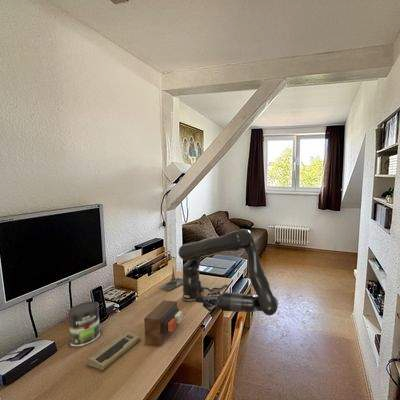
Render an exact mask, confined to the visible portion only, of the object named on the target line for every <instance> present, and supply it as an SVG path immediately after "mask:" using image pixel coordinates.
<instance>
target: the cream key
mask: <svg viewBox="0 0 400 400" xmlns="http://www.w3.org/2000/svg"><path fill="white" fill-rule="evenodd" d="M183 313H184V312H183V311H181V310H179V311H178V312H177V313H176V315H175V316H174V317H175V319H176V323H178V324H180V323H181V322H182V320H183V316H184V315H183Z"/></svg>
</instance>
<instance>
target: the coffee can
mask: <svg viewBox="0 0 400 400" xmlns="http://www.w3.org/2000/svg"><path fill="white" fill-rule="evenodd" d="M67 315H68V326H69V341H70V342H69V344H70V346H71V347H82V346H86V345H88V344H90V343H92V342H94V341H96V340H97V339H98V338H99V337H100V335H101V329H100V328H101V327H100V325H101V324H100V315H99V303H98V302H91V301H86V302H82V303H79V304H76V305H75V306H72V307H71V308H70V309H69V310H68V311H67Z"/></svg>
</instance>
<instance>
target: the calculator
mask: <svg viewBox="0 0 400 400" xmlns="http://www.w3.org/2000/svg"><path fill="white" fill-rule="evenodd" d="M92 301H93V300H91V301H90V302H92ZM114 305H115V304H114V303H107V304H106V311H107V314H106V316H107V315H109V314H111V313H113V312H116V311H117V310H119V309H120V308H117V309H115V310H113V309H114ZM125 306H126V304H125V305H124V306H122V307H121V308H123V307H125Z"/></svg>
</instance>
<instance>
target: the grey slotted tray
mask: <svg viewBox="0 0 400 400" xmlns="http://www.w3.org/2000/svg"><path fill="white" fill-rule="evenodd" d="M139 341H140V337H139V336H138V335H137V334H134V333H132V332H130V331H125V332H123V333H122V334H120V335H119V336H118V337H116V338H115V339H113V340H112V341H111V342H109V343H108V344H107V345H105V346H104V347H102V348H101V349H100V350H98V351H97V352H96V353H94V354H93V355H91V356H90V357H88V359H87V365H88V366H89V367H91V368H95V369H98V370H101V371H104V370H105V369H107V368H108V367H110V365H112V364H113V363H114V362H116V361H117V360H118V359H119V358H120V357H121V356H122V355H124V354H125V353H127V352H128V351H129V350H130V349H131V348H133V347H134V346H135V345H137V343H138V342H139Z"/></svg>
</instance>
